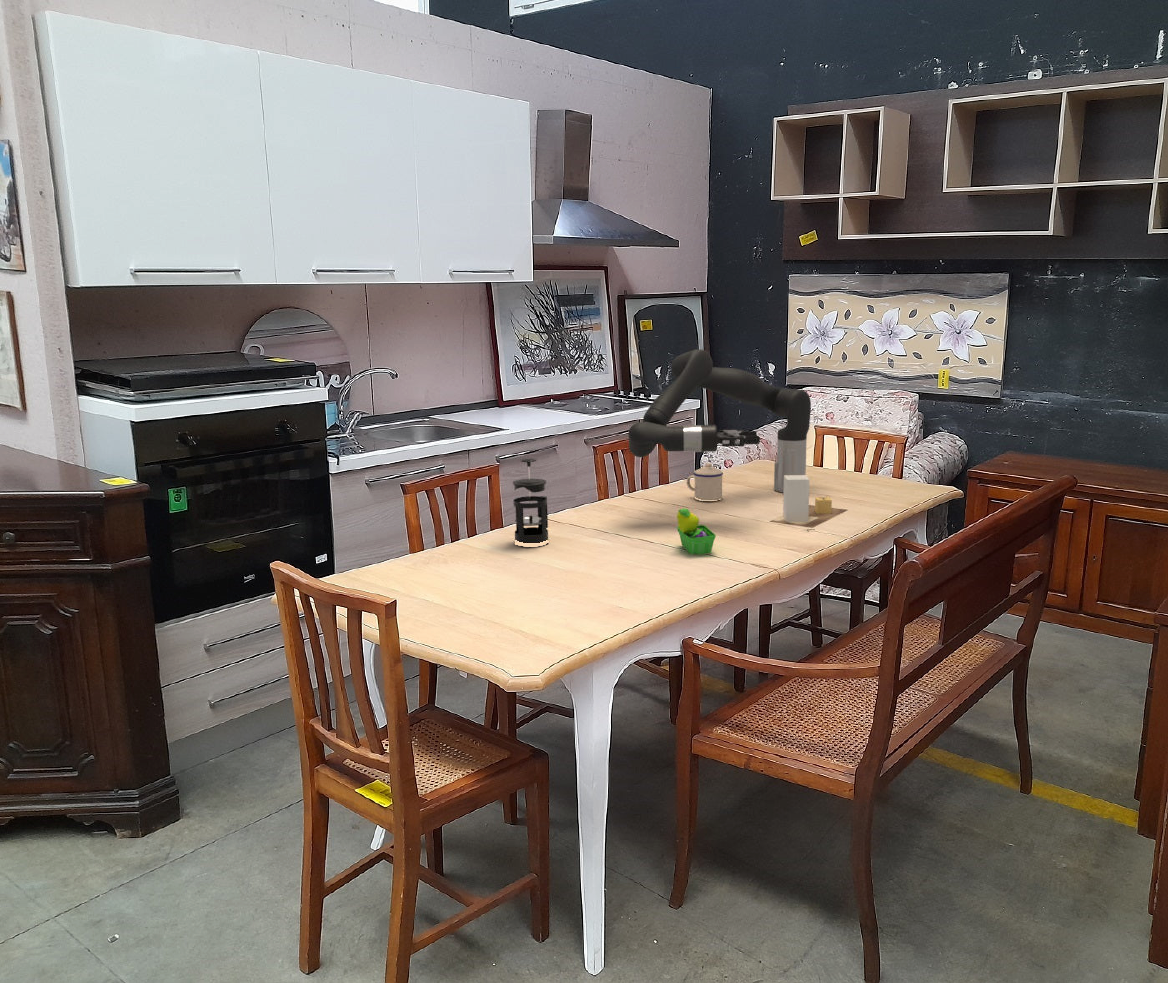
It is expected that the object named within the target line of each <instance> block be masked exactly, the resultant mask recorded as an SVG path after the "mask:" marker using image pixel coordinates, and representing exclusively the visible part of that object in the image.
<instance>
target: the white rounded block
mask: <svg viewBox="0 0 1168 983" xmlns="http://www.w3.org/2000/svg"><path fill="white" fill-rule="evenodd" d="M782 504H783V506H782V507H783V508H782V512H783V513H782V516H783V517H784V519H785V521H786V522H789V521H808V516H809V505H810V478H809V477H808V476H807V474H806V475H784V493H783V499H782Z"/></svg>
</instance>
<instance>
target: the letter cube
mask: <svg viewBox="0 0 1168 983" xmlns="http://www.w3.org/2000/svg"><path fill="white" fill-rule="evenodd" d="M814 498H815V499H814V506H815V511H816V513H817V514H831V508H832V506H833V505H832V503H833V500H832V499H831V498H830V497H829V496H824V497H823V496H817V497H814Z"/></svg>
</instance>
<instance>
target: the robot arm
mask: <svg viewBox="0 0 1168 983" xmlns="http://www.w3.org/2000/svg"><path fill="white" fill-rule="evenodd" d="M670 370H671V374H672V376H673V377H674V378H675V380H674V381H673V382H672V383H671V384H670V385H669V386H668V387H667V388H665V389H664V390H663V391H662V392H661V393H660V394H659V395H658V396H657V397H656V398H655V399H654V401H653V402H652V403H651V405H650V406H649V407H648V408H647V410H646V411H645V413H644V415H643V418H642V421H640V422H636V423H633V424H632V425H631V426H630V427H629V429H628V448H629V451H630V452H631V454H632V455H633V456H634V457H637V458H644V457H647V456H648V455H650V454H651V453H652V452H653V451H654V449H655V448H656V446H657V444H659V445H661V446H662V449H663V450H664V451H666V452H688V453H707V452H708V453H711V452H712V453H713V452H714V453H715V452H717V450H718V445H721V446H722V447H723V448H726V447H740V448H741V447H745V446H746V445H759V444H760V443H761V441H760V440H761V438H760V435H757V434H758V432H757V431H755V430H746V431H745V430H741V429H739V428H738V429H719V431H718V427H717V425H716V424H697V425H696V424H695V425H692V424H691V425H685V426H668V424H669V422H670V421H671V420H672V419H673V416H674V415H675V414H676V412H677V411H678V410H679V408H681V406H682V404H684V402H685V401H686V400H687V398H689V396H690V395H691V394H692V393H693V392H694V391H695V390H696V389H697V388H699V389H700V388H701V389H705V390H708V391H711V392H714V393H716V394H720V395H721V396H725V397H728V398H730V399H733V400H736V401H738V402H742V403H745V404H749V405H751V406H752V405H753V406H759V407H762V408H764V409H766V410H767V411H770V412H772V413H774V414H776V415H778V416H780V417H783V418H787V421H786V425H785V427H783V428H780V429H778V430H777V442H776V443H777V444H776V445H777V447H776V448H777V449H776V450H777V453H776V455H777V456H776V461H775V462H774V466H773V467H774V473H773V474H774V476H773V477H774V478H773V491H774V490H777V491H776V492H778V491H780V492H779V493H782V492H783V493H782V494H784V475H806V476H807V470H806V469H807V435H808V432H809V430H810V425H811V424H810V423H811V422H810V421H811V410H812V404H811V403H812V402H811V397H810V396H809V395H810V394H809V393H807V391H805V390H801V389H794V388H784V387H779V386H773V385H771V384H768V383H766V382H764V380H763V379H762V378H760V377H759V376H757V375H756V374H753V373H751V372H749V371H745V370H742V369H739V368H732V367H716V366H715V367H714V363H713V359H712V357H711V355H710V353H709V352H708V351H706V350H705V349H700V348H699V349H693V350H690V351H687V352H683V353H682V354H680V355H677V357H675V358H674V359H673V361H672V362H671V366H670Z"/></svg>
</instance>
